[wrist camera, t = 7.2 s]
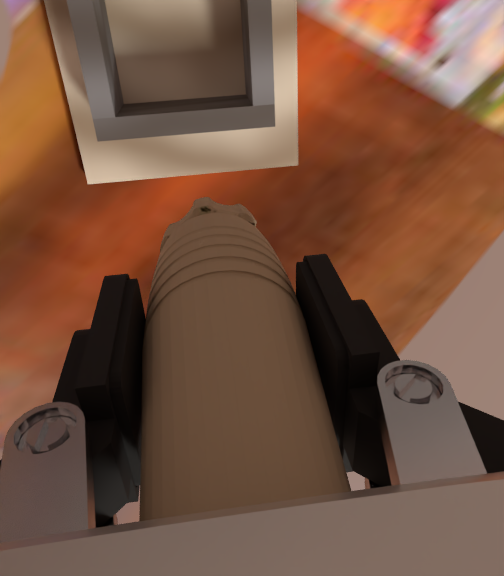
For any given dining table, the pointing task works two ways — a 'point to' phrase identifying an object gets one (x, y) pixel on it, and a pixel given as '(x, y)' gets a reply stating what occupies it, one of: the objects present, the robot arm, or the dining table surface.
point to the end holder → (179, 84)
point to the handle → (229, 376)
